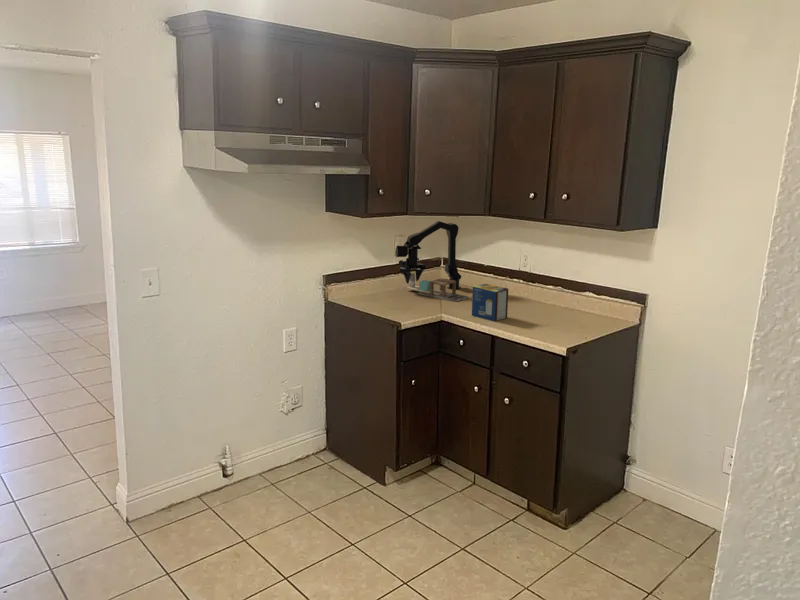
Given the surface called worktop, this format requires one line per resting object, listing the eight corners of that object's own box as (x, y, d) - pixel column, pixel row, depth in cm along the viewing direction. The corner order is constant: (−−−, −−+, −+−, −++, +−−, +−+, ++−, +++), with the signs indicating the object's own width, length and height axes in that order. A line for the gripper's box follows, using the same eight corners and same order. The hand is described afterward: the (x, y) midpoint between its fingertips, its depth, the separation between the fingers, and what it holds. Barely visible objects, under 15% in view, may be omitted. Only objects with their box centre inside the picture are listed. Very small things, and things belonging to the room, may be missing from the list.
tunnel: (430, 290, 375) (430, 276, 373) (467, 297, 359) (468, 282, 356) (417, 294, 366) (418, 279, 364) (456, 301, 349) (456, 286, 347)
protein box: (484, 312, 328) (485, 283, 325) (507, 318, 317) (509, 288, 314) (470, 315, 322) (472, 286, 318) (494, 321, 311) (495, 291, 307)
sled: (414, 286, 380) (414, 272, 377) (446, 292, 365) (447, 278, 363) (406, 288, 374) (406, 274, 371) (438, 294, 359) (439, 280, 357)
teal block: (425, 288, 373) (425, 279, 372) (433, 289, 369) (433, 281, 368) (419, 289, 369) (419, 281, 367) (427, 291, 365) (427, 282, 364)
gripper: (411, 253, 383) (411, 277, 387) (392, 256, 369) (392, 282, 373) (426, 255, 376) (425, 280, 380) (407, 259, 362) (406, 285, 366)
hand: (412, 282), depth 375 cm, fingers open, 9 cm apart
